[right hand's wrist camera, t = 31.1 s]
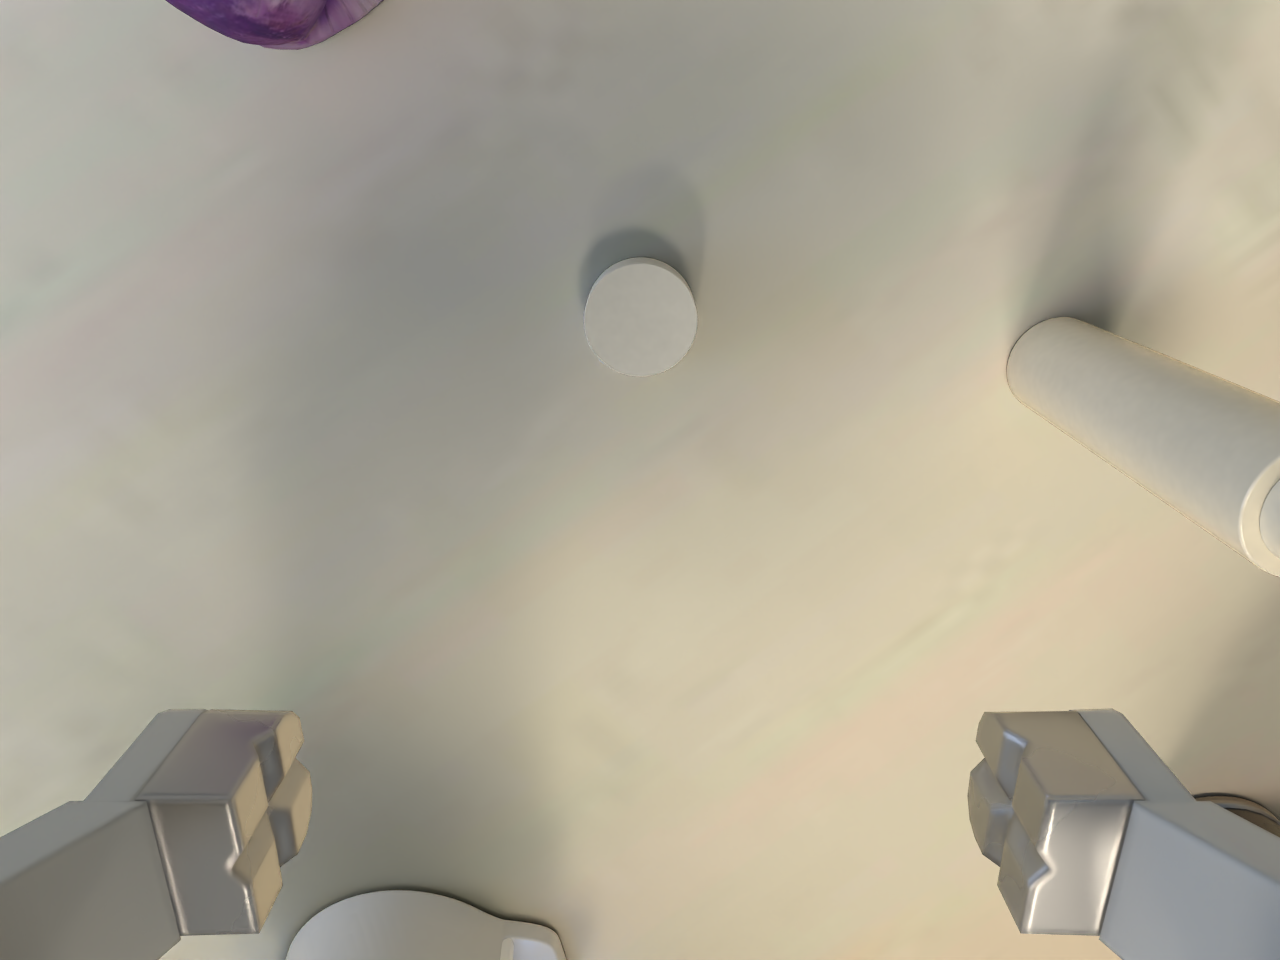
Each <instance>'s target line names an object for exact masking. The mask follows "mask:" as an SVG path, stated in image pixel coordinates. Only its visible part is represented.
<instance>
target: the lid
mask: <svg viewBox="0 0 1280 960" xmlns="http://www.w3.org/2000/svg"><path fill="white" fill-rule="evenodd" d="M697 324H698V316H697V309H696V304H695V301H694V298H693V295H692V292H691V290H690V288H689V286H688V284H687V282H686V281H685V279H684V278H683V277H682V276H681V275H680V274H679V273H678V272H677V271H676V270H675V269H674V268H672V267H671V266H669V265H668V264H666V263H664V262H662V261H659V260H656V259H652V258H646V257H636V258H629V259H625V260H622V261H620V262H617V263H616V264H614V265H612V266H610V267H609V268H608V269H606V270H605V271H604V272H603V273H602V274H601V275H600V276H599V277H598V279H597V280H596V281H595V283H594V285H593V286H592V289H591V291H590V293H589V296H588V299H587V302H586V306H585V311H584V330H585V334H586V338H587V340H588V343H589V345H590V347H591V349H592V351H593V352H594V353H595V355H596V356H597V357H598V358H599V359H600V360H601V361H602V362H603V363H604V364H605V365H606V366H608V367H609V368H611V369H613V370H614V371H617V372H619V373H621V374H624V375H628V376H634V377H647V376H653V375H657V374H660V373H663V372H665V371H667V370H669V369H671V368H672V367H673V366H675V365H676V364H677V363H679V362H680V361H681V360H682V359H683V357H684V356H685V355H686V354H687V352H688V351H689V349H690V348H691V346H692V344H693V342H694V339H695V336H696V331H697Z"/></svg>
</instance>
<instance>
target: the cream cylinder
mask: <svg viewBox="0 0 1280 960" xmlns="http://www.w3.org/2000/svg"><path fill="white" fill-rule="evenodd" d="M1007 380H1008V384H1009V387H1010V390H1011V391H1012V393H1013V395H1014V396H1015V398H1016V399H1017V400H1018V401H1019V402H1020V403H1022V404H1023V405H1025V406H1026V407H1027V408H1029V409H1030V410H1032V411H1033V412H1035V413H1036V414H1037V415H1039V416H1040V417H1042V418H1043V419H1045V420H1046V421H1048V422H1049V423H1050V424H1052V425H1053V426H1055V427H1056V428H1058V429H1059V430H1061V431H1062V432H1063V433H1065V434H1066V435H1068V436H1069V437H1071V438H1072V439H1074V440H1075V441H1076V442H1078V443H1079V444H1081V445H1082V446H1084V447H1085V448H1086V449H1088V450H1089V451H1091V452H1092V453H1094V454H1095V455H1097V456H1098V457H1099V458H1101V459H1102V460H1104V461H1105V462H1107V463H1108V464H1110V465H1111V466H1112V467H1114V468H1115V469H1117V470H1118V471H1120V472H1121V473H1123V474H1124V475H1125V476H1127V477H1128V478H1130V479H1131V480H1133V481H1134V482H1136V483H1137V484H1138V485H1140V486H1141V487H1143V488H1144V489H1146V490H1147V491H1148V492H1150V493H1151V494H1153V495H1154V496H1156V497H1157V498H1159V499H1160V500H1161V501H1163V502H1164V503H1166V504H1167V505H1169V506H1170V507H1172V508H1173V509H1174V510H1176V511H1177V512H1179V513H1180V514H1182V515H1183V516H1185V517H1186V518H1187V519H1189V520H1190V521H1192V522H1193V523H1195V524H1196V525H1198V526H1199V527H1200V528H1202V529H1203V530H1205V531H1206V532H1208V533H1209V534H1210V535H1212V536H1213V537H1215V538H1216V539H1218V540H1219V541H1221V542H1222V543H1223V544H1225V545H1226V546H1228V547H1229V548H1231V549H1232V550H1234V551H1235V552H1236V553H1238V554H1239V555H1241V556H1242V557H1244V558H1245V559H1247V560H1248V561H1249V562H1251V563H1252V564H1254V565H1255V566H1257V567H1258V568H1260V569H1261V570H1263V571H1265V572H1267V573H1269V574H1271V575H1274V576H1277V577H1280V402H1279V401H1277V400H1274V399H1272V398H1269V397H1267V396H1264V395H1262V394H1260V393H1257V392H1255V391H1252V390H1250V389H1247V388H1245V387H1243V386H1240V385H1238V384H1235V383H1233V382H1230V381H1228V380H1226V379H1223V378H1221V377H1218V376H1216V375H1213V374H1211V373H1208V372H1206V371H1204V370H1201V369H1199V368H1196V367H1194V366H1191V365H1189V364H1187V363H1184V362H1182V361H1179V360H1177V359H1174V358H1172V357H1170V356H1167V355H1165V354H1162V353H1160V352H1157V351H1155V350H1152V349H1150V348H1148V347H1145V346H1143V345H1140V344H1138V343H1135V342H1133V341H1131V340H1128V339H1126V338H1123V337H1121V336H1118V335H1116V334H1114V333H1111V332H1109V331H1106V330H1104V329H1101V328H1099V327H1096V326H1094V325H1092V324H1089V323H1087V322H1084V321H1082V320H1079V319H1076V318H1071V317H1057V318H1052V319H1048V320H1045V321H1043V322H1041V323H1038V324H1037V325H1035V326H1033V327H1032V328H1031V329H1029V330H1028V331H1027V332H1026V333H1025V334H1023V335H1022V336H1021V338H1020V339H1019V340H1018V341H1017V343H1016V344H1015V346H1014V347H1013V349H1012V351H1011V354H1010V357H1009V360H1008V364H1007Z"/></svg>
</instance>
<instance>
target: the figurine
mask: <svg viewBox="0 0 1280 960" xmlns="http://www.w3.org/2000/svg"><path fill="white" fill-rule="evenodd" d="M166 1H167V2H169V3H170V4H171V5H173V6H174V7H176V8H177V9H179V10H180V11H182V12H184V13H185V14H187V15H189V16H190V17H192V18H193V19H195V20H197V21H198V22H200V23H202V24H204V25H205V26H207V27H209V28H211V29H213V30H215V31H217V32H219V33H221V34H223V35H225V36H227V37H230V38H232V39H235V40H238V41H240V42H243V43H248V44H255V45H260V46H262V47H265V48H272V49H291V50H298V49H302V48H306V47H309V46H312V45H315V44H317V43H320V42H322V41H324V40H326V39H328V38H329V37H331V36H333V35H335V34H336V33H338V32H340V31H341V30H343V29H345V28H347V27H348V26H350V25H352V24H354V23H355V22H357V21H358V20H360V19H361V18H363V17H364V16H365V15H366V14H368V13H369V12H370V10H372V9H373V8H375V7H376V6H377V5H378V4H379V3H380V2H382V1H383V0H166Z"/></svg>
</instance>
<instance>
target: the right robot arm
mask: <svg viewBox="0 0 1280 960" xmlns="http://www.w3.org/2000/svg"><path fill="white" fill-rule="evenodd" d="M303 742H304V737H303V732H302V727H301V722H300V718H299V717H298V716H297V715H296V714H295V713H294V712H293V711H265V710H219V709H211V710H205V709H169V710H166V711H163V712H160V713H158V714H157V715H156V716H155V717H154V718H153V720H152V721H151V722H150V723H149V724H148V726H147V727H146V728H145V729H144V730H143V731H142V733H141V734H140V735H139V736H138V737H137V738H136V740H135V741H134V742H133V743H132V744H131V746H130V747H129V748H128V749H127V750H126V751H125V753H124V754H123V755H122V756H121V757H120V759H119V760H118V761H117V762H116V763H115V764H114V766H113V767H112V768H111V769H110V770H109V772H108V773H107V774H106V775H105V776H104V777H103V779H102V780H101V781H100V782H99V783H98V784H97V786H96V787H95V788H94V789H93V790H92V792H91V793H90V794H89V795H88V796H87V797H86V799H85V800H84V801H69V802H67V803H65V804H63V805H61V806H60V807H58V808H56V809H54V810H52V811H50V812H48V813H46V814H44V815H42V816H40V817H39V818H37V819H35V820H33V821H31V822H29V823H27V824H25V825H23V826H21V827H19V828H18V829H16V830H14V831H12V832H10V833H8V834H6V835H4V836H2V837H0V960H158V959H159V958H160V957H162V956H163V955H164V954H165V953H166V952H167V951H169V950H170V949H171V948H172V947H173V946H174V945H175V944H177V943H178V942H179V941H180V939H181V938H180V936H186V935H220V934H254V933H260V931H261V929H262V927H263V925H264V923H265V921H266V919H267V917H268V915H269V912H270V910H271V908H272V906H273V904H274V902H275V900H276V898H277V896H278V894H279V892H280V890H281V888H282V886H283V883H282V877H281V871H280V867H281V866H282V865H283V864H285V863H286V862H288V861H289V860H290V859H292V858H293V857H294V856H296V855H297V854H298V852H299V850H300V848H301V845H302V843H303V841H304V839H305V837H306V834H307V830H308V825H309V820H310V816H311V811H312V785H311V779H310V772H309V771H308V770H307V769H306V768H305V767H304V766H303V765H302V764H301V763H300V762H299V761H298V760H297V759H296V758H295V757H296V755H297V753H298V752H299V750H300V748H301V746H302V744H303ZM976 742H977V744H978V746H979V748H980V750H981V752H982V753H983V755H984V757H985V758H984V759H983V760H982V761H981V762H980V763H979V764H978V765H977V766H976V767H975V768H974V769H973V770H972V771H971V772H970V780H969V788H968V806H969V818H970V822H971V826H972V830H973V833H974V837H975V839H976V841H977V843H978V846H979V848H980V850H981V852H982V854H983V855H984V856H986V857H987V858H988V859H990V860H991V861H992V862H994V863H995V864H997V865H998V866H999V867H1000V872H999V877H998V883H997V886H998V888H999V890H1000V892H1001V894H1002V896H1003V898H1004V900H1005V902H1006V904H1007V906H1008V908H1009V910H1010V912H1011V914H1012V916H1013V918H1014V921H1015V923H1016V925H1017V927H1018V929H1019V931H1020V933H1023V934H1059V935H1094V936H1100V938H1099V940H1100V941H1102V942H1103V943H1104V944H1105V945H1106V946H1107V947H1108V948H1110V949H1111V950H1112V951H1113V952H1114V953H1115V954H1117V955H1118V956H1119V957H1120V958H1121V959H1122V960H1280V838H1279V837H1278V836H1276V835H1274V834H1272V833H1270V832H1268V831H1266V830H1264V829H1262V828H1260V827H1259V826H1257V825H1255V824H1253V823H1251V822H1249V821H1247V820H1245V819H1243V818H1241V817H1240V816H1238V815H1236V814H1234V813H1232V812H1230V811H1228V810H1226V809H1224V808H1222V807H1220V806H1219V805H1217V804H1215V803H1213V802H1211V801H1196V800H1195V799H1194V797H1193V796H1192V795H1191V794H1190V793H1189V792H1188V790H1187V789H1186V788H1185V787H1184V786H1183V785H1182V783H1181V782H1180V781H1179V780H1178V779H1177V777H1176V776H1175V775H1174V774H1173V773H1172V772H1171V770H1170V769H1169V768H1168V767H1167V766H1166V765H1165V763H1164V762H1163V761H1162V760H1161V759H1160V757H1159V756H1158V755H1157V754H1156V753H1155V752H1154V750H1153V749H1152V748H1151V747H1150V746H1149V744H1148V743H1147V742H1146V741H1145V740H1144V739H1143V737H1142V736H1141V735H1140V734H1139V733H1138V732H1137V730H1136V729H1135V728H1134V727H1133V726H1132V724H1131V723H1130V722H1129V721H1128V720H1127V719H1126V717H1125V716H1124V715H1123V714H1122V713H1120V712H1118V711H1116V710H1114V709H1084V710H1069V711H1036V712H984V714H983V716H982V718H981V720H980V722H979V725H978V731H977V736H976ZM286 960H566V957H565V954H564V951H563V948H562V945H561V942H560V939H559V937H558V935H557V934H556V933H555V932H554V931H553V930H551V929H550V928H548V927H545V926H542V925H538V924H532V923H527V922H519V921H511V920H503V919H500V918H497V917H495V916H492V915H490V914H488V913H485V912H483V911H481V910H479V909H477V908H475V907H473V906H471V905H469V904H466V903H464V902H461V901H458V900H455V899H453V898H449V897H446V896H442V895H438V894H433V893H427V892H421V891H410V890H388V891H377V892H371V893H365V894H361V895H357V896H353V897H350V898H347V899H344V900H342V901H339V902H337V903H335V904H333V905H331V906H329V907H327V908H325V909H324V910H322V911H321V912H319V913H318V914H316V915H315V916H314V917H312V918H311V919H310V920H309V921H308V922H307V923H306V924H305V925H304V926H303V927H302V928H301V929H300V931H299V932H298V933H297V935H296V936H295V938H294V939H293V941H292V943H291V945H290V948H289V951H288V954H287V957H286Z"/></svg>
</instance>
